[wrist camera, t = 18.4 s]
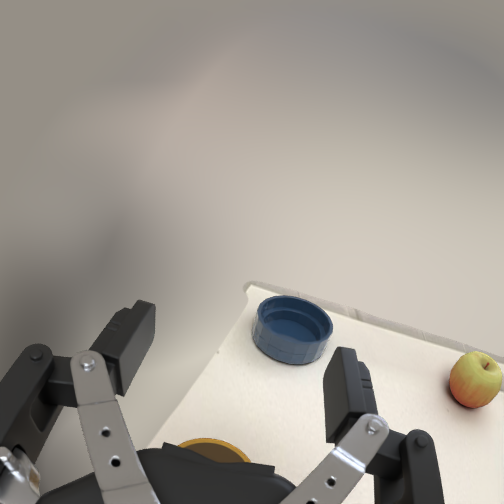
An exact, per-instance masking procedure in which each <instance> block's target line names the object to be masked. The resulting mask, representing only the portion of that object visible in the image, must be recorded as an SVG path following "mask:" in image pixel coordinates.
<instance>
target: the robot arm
mask: <svg viewBox="0 0 504 504" xmlns="http://www.w3.org/2000/svg"><path fill="white" fill-rule="evenodd" d="M155 310H156V307H155V304H152V303H149V302H145V301H142V300H138V301H137V302H136V303H135V305H134V306H133V308H132V309H129V308H123V309H122V310H120V311H118V312H116V313H115V315H114V316H113V317H112V319H111V320H110V322H109V323H108V324H107V325H106V328H104V329H103V331H102V332H101V334H100V335H99V336H98V338H97V339H96V340H95V342H94V343H93V345H92V346H91V347H90V349H89V350H85V351H81V352H78V353H77V354H75V355H74V356H73V357H61V356H53V354H52V351H51V350H50V348H49V347H47V346H46V345H43V344H33V345H30V346H28V347H27V348H25V349H24V351H23V352H22V353H21V355H20V356H19V357H18V359H17V360H16V361H15V362H14V364H13V365H12V367H11V368H10V369H9V371H8V372H7V373H6V375H5V376H4V378H3V379H2V381H1V382H0V504H341V503H342V502H343V501H344V499H345V498H346V497H347V496H348V494H349V493H350V492H351V491H352V489H353V488H354V487H355V485H356V484H357V483H358V482H359V480H360V479H361V478H362V476H363V475H364V473H368V474H371V475H374V498H375V504H445V503H444V496H443V489H442V483H441V477H440V471H439V466H438V461H437V456H436V451H435V446H434V442H433V439H432V437H431V436H430V435H429V434H428V433H427V432H425V431H423V430H419V429H416V430H412V431H410V432H409V433H408V434H407V435H405V434H402V433H399V432H396V431H393V430H391V429H389V426H388V424H387V422H386V421H385V420H384V419H383V418H382V417H381V416H379V415H378V411H377V406H376V401H375V396H374V391H373V389H372V388H373V386H372V382H371V377H370V373H369V370H368V368H367V367H366V365H365V364H364V363H363V362H360V361H358V360H357V355H356V351H355V349H351V348H345V347H337V348H336V350H335V352H334V354H333V356H332V358H331V360H330V362H329V364H328V366H327V368H326V370H325V373H324V377H323V392H324V408H325V427H326V443H335V448H334V449H333V450H332V451H331V452H330V453H329V454H328V455H327V456H326V458H325V459H324V460H323V461H322V462H321V463H320V464H319V465H318V466H317V467H316V468H315V469H314V470H313V471H312V472H311V473H310V474H309V476H308V477H307V478H306V479H305V480H304V481H303V482H302V483H301V484H300V485H299V486H297V487H296V486H295V485H294V484H292V483H291V482H290V481H288V480H287V479H285V478H284V477H282V476H280V475H278V474H275V473H274V470H275V466H270V465H263V464H256V463H250V462H231V463H220V462H216V461H213V460H211V459H209V458H207V457H205V456H203V455H201V454H199V453H197V452H195V451H193V450H190V449H187V448H183V447H179V446H176V445H172V444H169V443H165V442H164V443H163V446H162V449H161V448H150V449H143V450H139V451H135V448H134V446H133V443H132V440H131V438H130V435H129V432H128V429H127V427H126V424H125V421H124V418H123V416H122V413H121V410H120V407H119V404H118V401H117V400H116V398H115V395H116V394H118V395H121V396H123V397H124V396H125V394H126V392H127V390H128V388H129V386H130V384H131V382H132V380H133V378H134V376H135V374H136V372H137V370H138V368H139V367H140V365H141V363H142V361H143V359H144V357H145V355H146V353H147V352H148V349H149V348H150V346H151V344H152V342H153V339H154V334H155ZM64 406H67V407H75V408H77V409H78V414H79V418H80V422H81V426H82V431H83V435H84V438H85V442H86V446H87V449H88V453H89V456H90V460H91V463H92V466H93V469H94V472H92V473H90V474H88V475H86V476H84V477H81V478H79V479H77V480H75V481H72V482H70V483H68V484H66V485H63V486H61V487H59V488H56V489H54V490H51V491H49V492H47V493H45V494H44V495H42V496H40V494H39V483H40V474H39V471H38V469H37V468H36V467H35V462H36V460H37V458H38V456H39V454H40V452H41V450H42V448H43V446H44V443H45V441H46V439H47V438H48V435H49V433H50V431H51V430H52V427H53V426H54V424H55V422H56V420H57V418H58V416H59V414H60V412H61V410H62V409H63V407H64Z"/></svg>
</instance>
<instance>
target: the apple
mask: <svg viewBox="0 0 504 504" xmlns="http://www.w3.org/2000/svg"><path fill="white" fill-rule="evenodd" d="M449 384H450V389H451V392H452V394H453V396H454V397H455V399H456V400H457V401H458V402H459V403H461V404H462V405H464V406H466V407H470V408H478V407H482V406H485V405H487V404H488V403H490V402H491V401H492V400H493V398H494V397H495V396H496V395H497V394H498V392H499V391H500V388H501V384H502V373H501V369H500V368H499V366H498V364H497V363H496V362H495V361H494V360H493V359H492V358H491V357H489V356H488V355H486V354H484V353H482V352H476V351H474V352H470V353H467V354H465V355H463V356H461V357H460V359H459V360H458V361H457V362H456V364H455V365H454V366H453V368H452V370H451V374H450V381H449Z"/></svg>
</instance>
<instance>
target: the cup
mask: <svg viewBox="0 0 504 504" xmlns="http://www.w3.org/2000/svg"><path fill="white" fill-rule="evenodd" d="M178 446H179V447H183V448H187V449H190V450H193V451H195V452H197V453H199V454H201V455H203V456H205V457H207V458H209V459H211V460H213V461H216V462H220V463H231V462H250V463H251V461H250V460H249V458H248V457H247V456H246V455H245V454H244V453H243V452H242V451H241V450H239V449H238V448H236V447H235V446H233V445H231V444H229V443H227V442H224V441H221V440H217V439H211V438H199V439H193V440H189V441H186V442H183V443H181V444H180V445H178Z"/></svg>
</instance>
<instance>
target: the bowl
mask: <svg viewBox="0 0 504 504" xmlns="http://www.w3.org/2000/svg"><path fill="white" fill-rule="evenodd" d="M332 332H333V324H332V321H331V319H330V317H329V316H328V315H327V314H326V312H325V311H324V310H322V309H321V308H320V307H318V306H317V305H315V304H313V303H311V302H309V301H307V300H305V299H301V298H298V297H293V296H284V295H283V296H273V297H270V298H267V299H265V300H264V301H263V302H262V303H260V305H259V307H258V310H257V313H256V317H255V321H254V325H253V329H252V333H253V339H254V341H255V342H256V344H257V346H258V347H259V348H260V349H261V350H262V351H263V352H264V353H265V354H267V355H269V356H270V357H272V358H274V359H276V360H278V361H282V362H285V363H289V364H305V363H310V362H313V361H315V360H316V359H318V358H320V356H321V355H322V353H323V352H324V350H325V348H326V346H327V343H328V341H329V339H330V337H331V335H332Z"/></svg>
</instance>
